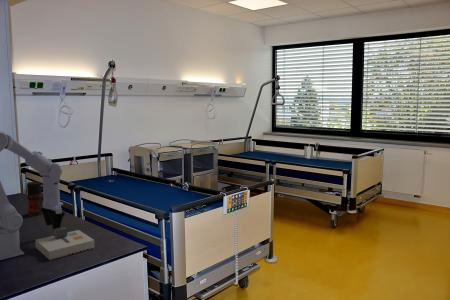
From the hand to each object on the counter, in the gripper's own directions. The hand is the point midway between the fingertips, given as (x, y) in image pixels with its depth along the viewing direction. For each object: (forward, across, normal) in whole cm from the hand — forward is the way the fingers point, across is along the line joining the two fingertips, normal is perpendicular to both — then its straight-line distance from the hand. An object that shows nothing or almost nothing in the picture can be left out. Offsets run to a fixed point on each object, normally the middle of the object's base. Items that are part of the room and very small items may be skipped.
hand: (52, 227), depth 146 cm
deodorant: (+5, +37, -5) cm, 38 cm away
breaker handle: (+1, -8, 0) cm, 8 cm away
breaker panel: (+5, -12, 0) cm, 13 cm away
